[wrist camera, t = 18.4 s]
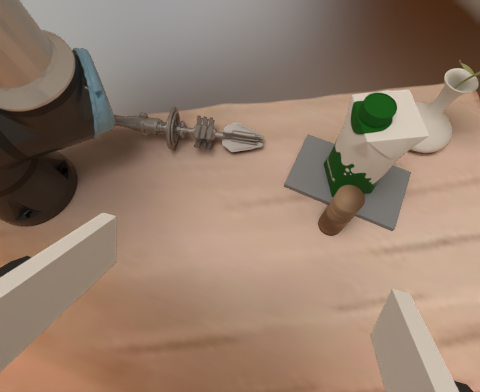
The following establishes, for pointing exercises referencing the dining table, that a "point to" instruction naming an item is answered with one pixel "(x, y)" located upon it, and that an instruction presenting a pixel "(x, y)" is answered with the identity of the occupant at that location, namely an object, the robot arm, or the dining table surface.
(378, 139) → the soya milk
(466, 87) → the flower in vase
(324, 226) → the wooden pepper mill
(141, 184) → the dining table surface
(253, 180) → the dining table surface
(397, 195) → the slate mat
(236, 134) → the spaceship
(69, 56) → the robot arm
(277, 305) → the dining table surface
